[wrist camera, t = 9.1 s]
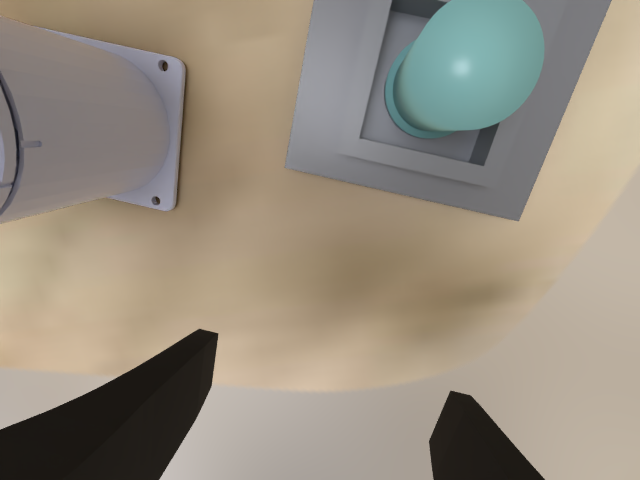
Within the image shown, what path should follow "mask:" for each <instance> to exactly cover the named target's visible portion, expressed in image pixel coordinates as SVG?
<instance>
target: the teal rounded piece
mask: <svg viewBox="0 0 640 480" xmlns="http://www.w3.org/2000/svg"><path fill="white" fill-rule="evenodd" d="M544 50H545V48H544V37H543V32H542V29H541V26H540V23H539V21H538V19H537V17H536V15H535V14H534V12H533V11H532V9H531V8H530V7H529V6H528V5H527V4H526V3H525V2H524V1H523V0H451V1H449V2H448V3H446V4H445V5H444V6H443V7H442V8H440V9H439V10H438V11H437V12H436V13H435V14H434V15H433V16H432V18H431V19H430V20H429V22H428V23H427V24H426V26H425V27H424V29H423V30H422V32H421V33H420V35H419V36H418V38H417V39H416V40H415V41H413V42H411V43H410V44H409V45H408V46H406V47H405V48H404V49H403V50H402V51H401V52H400V54H399V55H398V56H397V58H396V59H395V61H394V62H393V64H392V66H391V68H390V70H389V72H388V75H387V78H386V82H385V88H384V100H385V105H386V109H387V112H388V114H389V116H390V118H391V119H392V121H393V122H394V123H395V125H396V126H397V127H398V128H400V129H401V130H402V131H404V132H405V133H407V134H409V135H411V136H414V137H418V138H440V137H444V136H447V135H449V134H452V133H454V132H455V131H459V130H476V129H482V128H486V127H489V126H492V125H494V124H496V123H498V122H500V121H502V120H504V119H505V118H507V117H508V116H510V115H511V114H512V113H514V112H515V111H516V110H517V109H518V108H519V107H520V106H521V105H522V104H523V103H524V102H525V101H526V99H527V98H528V97H529V95H530V94H531V92H532V90H533V89H534V87H535V85H536V83H537V81H538V78H539V76H540V73H541V70H542V66H543V61H544Z"/></svg>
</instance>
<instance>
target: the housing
mask: <svg viewBox="0 0 640 480" xmlns="http://www.w3.org/2000/svg"><path fill="white" fill-rule="evenodd" d="M449 1H451V0H314V3H313V8H312V14H311V20H310V25H309V31H308V37H307V43H306V48H305V54H304V60H303V65H302V71H301V77H300V83H299V88H298V94H297V100H296V105H295V111H294V117H293V123H292V128H291V134H290V140H289V145H288V151H287V157H286V163H285V168H288V169H292V170H296V171H301V172H305V173H310V174H314V175H318V176H323V177H327V178H331V179H336V180H340V181H344V182H349V183H353V184H358V185H362V186H366V187H371V188H375V189H379V190H384V191H388V192H393V193H397V194H401V195H406V196H410V197H414V198H419V199H423V200H427V201H432V202H436V203H441V204H445V205H449V206H454V207H458V208H462V209H467V210H471V211H476V212H480V213H484V214H489V215H493V216H497V217H502V218H506V219H510V220H515V221H519V219H520V217H521V215H522V212H523V210H524V207H525V205H526V203H527V200H528V198H529V196H530V193H531V191H532V188H533V186H534V184H535V181H536V179H537V177H538V174H539V172H540V169H541V167H542V165H543V162H544V160H545V158H546V155H547V153H548V150H549V148H550V146H551V143H552V141H553V138H554V136H555V134H556V131H557V129H558V127H559V124H560V122H561V119H562V117H563V115H564V112H565V110H566V108H567V105H568V103H569V100H570V98H571V96H572V93H573V91H574V89H575V86H576V84H577V81H578V79H579V77H580V74H581V72H582V70H583V67H584V65H585V62H586V60H587V58H588V55H589V53H590V50H591V48H592V46H593V43H594V41H595V39H596V36H597V34H598V31H599V29H600V27H601V24H602V22H603V20H604V17H605V15H606V12H607V10H608V8H609V5H610V3H611V1H612V0H523V1H524V2H525V3H526V4H527V5H528V6H529V7H530V8H531V9H532V11H533V12H534V14H535V15H536V17H537V19H538V21H539V23H540V26H541V29H542V32H543V37H544V48H545V50H544V61H543V66H542V70H541V73H540V76H539V78H538V81H537V83H536V85H535V87H534V89H533V90H532V92H531V94H530V95H529V97H528V98H527V99H526V101H525V102H524V103H523V104H522V105H521V106H520V107H519V108H518V109H517V110H516V111H515V112H514V113H512V114H511V115H510V116H508V117H507V118H505V119H504V120H502V121H500V122H498V123H496V124H494V125H492V126H489V127H486V128H482V129H476V130H459V131H455V132H454V133H452V134H449V135H447V136H444V137H440V138H418V137H414V136H411V135H409V134H407V133H405V132H404V131H402V130H401V129H400V128H398V127H397V126H396V125H395V123H394V122H393V121H392V119H391V118H390V116H389V114H388V112H387V109H386V105H385V100H384V88H385V82H386V78H387V75H388V72H389V70H390V68H391V66H392V64H393V62H394V61H395V59H396V58H397V56H398V55H399V54H400V52H401V51H402V50H403V49H404V48H405V47H406V46H408V45H409V44H410V43H411V42H413V41H415V40H416V39H417V38H418V36H419V35H420V33H421V32H422V30H423V29H424V27H425V26H426V24H427V23H428V22H429V20H430V19H431V18H432V16H433V15H434V14H435V13H436V12H437V11H438V10H439V9H440V8H442V7H443V6H444V5H445V4H446V3H448V2H449Z"/></svg>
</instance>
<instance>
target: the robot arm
mask: <svg viewBox="0 0 640 480" xmlns="http://www.w3.org/2000/svg"><path fill="white" fill-rule="evenodd" d="M164 62H167V63H168V69H167V70H166V71H164V70H163V68H162V65H163V63H164ZM185 74H186V69H185V65H184V63H183V62H182V61H181V60H180V59H177V58H175V57H172V56H167V55H163V54H158V53H154V52H149V51H145V50H140V49H136V48H131V47H127V46H122V45H117V44H113V43H108V42H104V41H99V40H95V39H90V38H86V37H81V36H77V35H72V34H68V33H63V32H59V31H54V30H50V29H45V28H40V27H36V26H31V25H28V24H25V23H22V22H19V21H16V20H13V19H10V18H7V17H4V16H1V15H0V224H2V223H6V222H10V221H14V220H18V219H21V218H25V217H29V216H33V215H37V214H41V213H45V212H49V211H53V210H57V209H61V208H65V207H69V206H73V205H77V204H81V203H85V202H89V201H93V200H97V199H101V198H105V197H106V198H111V199H115V200H119V201H123V202H128V203H132V204H136V205H140V206H145V207H149V208H153V209H157V210H162V211H169V210H172V209H173V208H174V207H175V205H176V196H177V183H178V169H179V155H180V142H181V128H182V115H183V101H184V87H185ZM156 196H157V197H158V198H159V199H160V204H158V203H157V202H156V200H155V198H156ZM217 340H218V333H214V332H210V331H206V330H202V329H198V330H196V331H195V332H193V333H191V334H190V335H188V336H187V337H185V338H183V339H182V340H180V341H179V342H177V343H175V344H174V345H172V346H171V347H169V348H167V349H166V350H164V351H163V352H161V353H159V354H158V355H156V356H154V357H153V358H151V359H149V360H147V361H146V362H144V363H142V364H141V365H139V366H137V367H136V368H134V369H132V370H130V371H129V372H127V373H125V374H123V375H121V376H119V377H117V378H116V379H114V380H112V381H110V382H108V383H106V384H105V385H103V386H101V387H99V388H97V389H95V390H93V391H91V392H89V393H86V394H85V395H83V396H80V397H78V398H76V399H74V400H71V401H69V402H67V403H65V404H63V405H60V406H58V407H56V408H53V409H51V410H49V411H46V412H44V413H42V414H39V415H36V416H34V417H31V418H29V419H26V420H24V421H21V422H19V423H16V424H13V425H11V426H8V427H6V428H3V429H1V430H0V480H159V479H160V477H161V476H162V474H163V472H164V471H165V469H166V467H167V466H168V464H169V462H170V461H171V459H172V458H173V456H174V454H175V453H176V451H177V450H178V448H179V446H180V445H181V443H182V441H183V440H184V438H185V436H186V435H187V433H188V431H189V430H190V428H191V427H192V425H193V423H194V421H195V420H196V418H197V416H198V414H199V412H200V410H201V408H202V406H203V404H204V401H205V399H206V397H207V395H208V393H209V391H210V388H211V386H212V378H213V371H214V363H215V355H216V348H217ZM429 444H430V454H431V463H432V471H433V478H434V480H545V479H544V478H543V477H542V476H541V475H540V474H539V473H538V471H537V470H536V469H535V468H534V467H533V466H532V465H531V464H530V463H529V461H528V460H527V459H526V458H525V457H524V456H523V455H522V453H521V452H520V451H519V450H518V449H517V448H516V447H515V445H514V444H513V443H512V442H511V441H510V440H509V438H508V437H507V436H506V435H505V434H504V433H503V432H502V431H501V429H500V428H499V427H498V426H497V424H496V423H495V422H494V421H493V420H492V419H491V418H490V416H489V415H488V414H487V413H486V412H485V411H484V409H483V408H482V407H481V406H480V405H479V404H478V403H477V402H476V401H475V400H474V398H473V397H472V396H470V395H466V394H462V393H458V392H454V391H450V393H449V396H448V398H447V400H446V403H445V405H444V407H443V410H442V412H441V414H440V417H439V419H438V421H437V424H436V426H435V428H434V431H433V433H432V436H431V438H430V440H429Z"/></svg>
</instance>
